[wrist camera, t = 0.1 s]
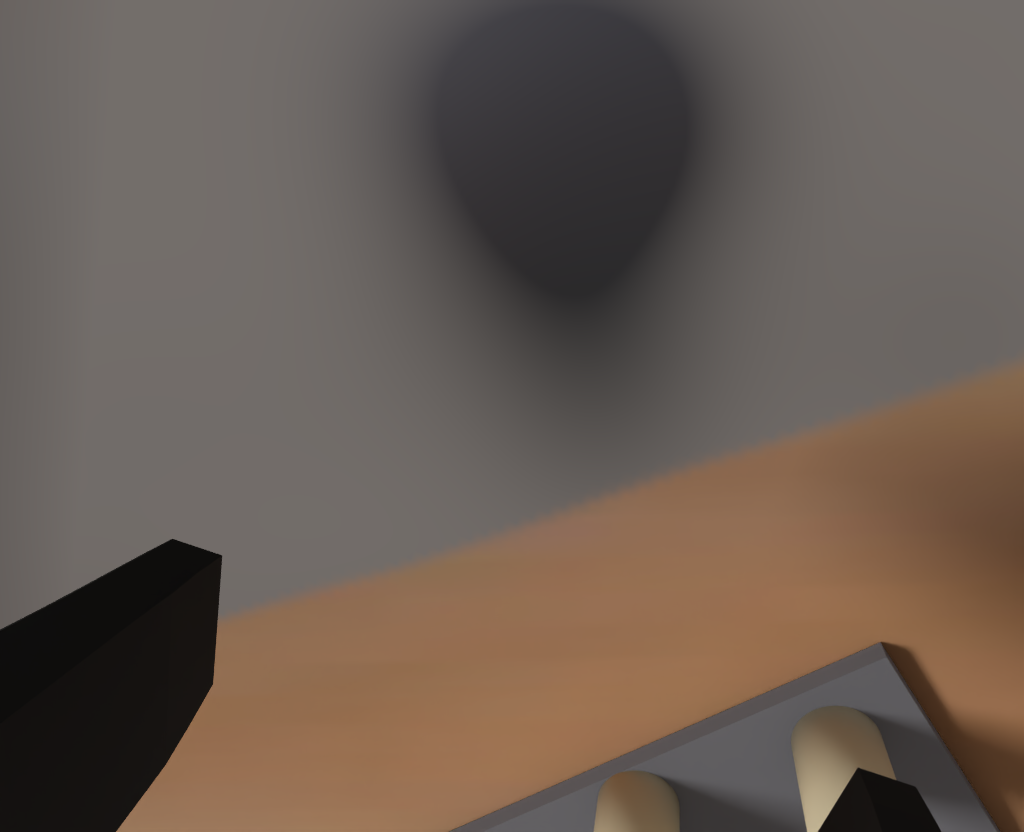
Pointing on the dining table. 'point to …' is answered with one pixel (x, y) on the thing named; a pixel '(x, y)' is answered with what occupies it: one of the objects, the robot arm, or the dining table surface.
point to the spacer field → (765, 764)
